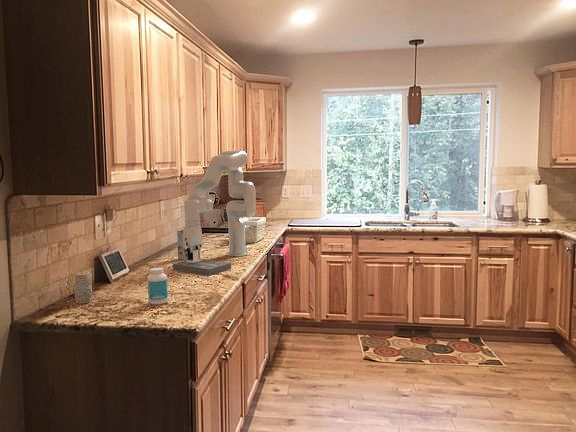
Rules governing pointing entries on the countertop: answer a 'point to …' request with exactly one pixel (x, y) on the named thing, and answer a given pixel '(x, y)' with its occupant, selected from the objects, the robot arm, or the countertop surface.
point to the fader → (195, 257)
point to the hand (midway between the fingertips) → (193, 258)
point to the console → (202, 267)
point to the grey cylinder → (83, 287)
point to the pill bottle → (157, 287)
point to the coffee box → (181, 251)
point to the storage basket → (254, 229)
